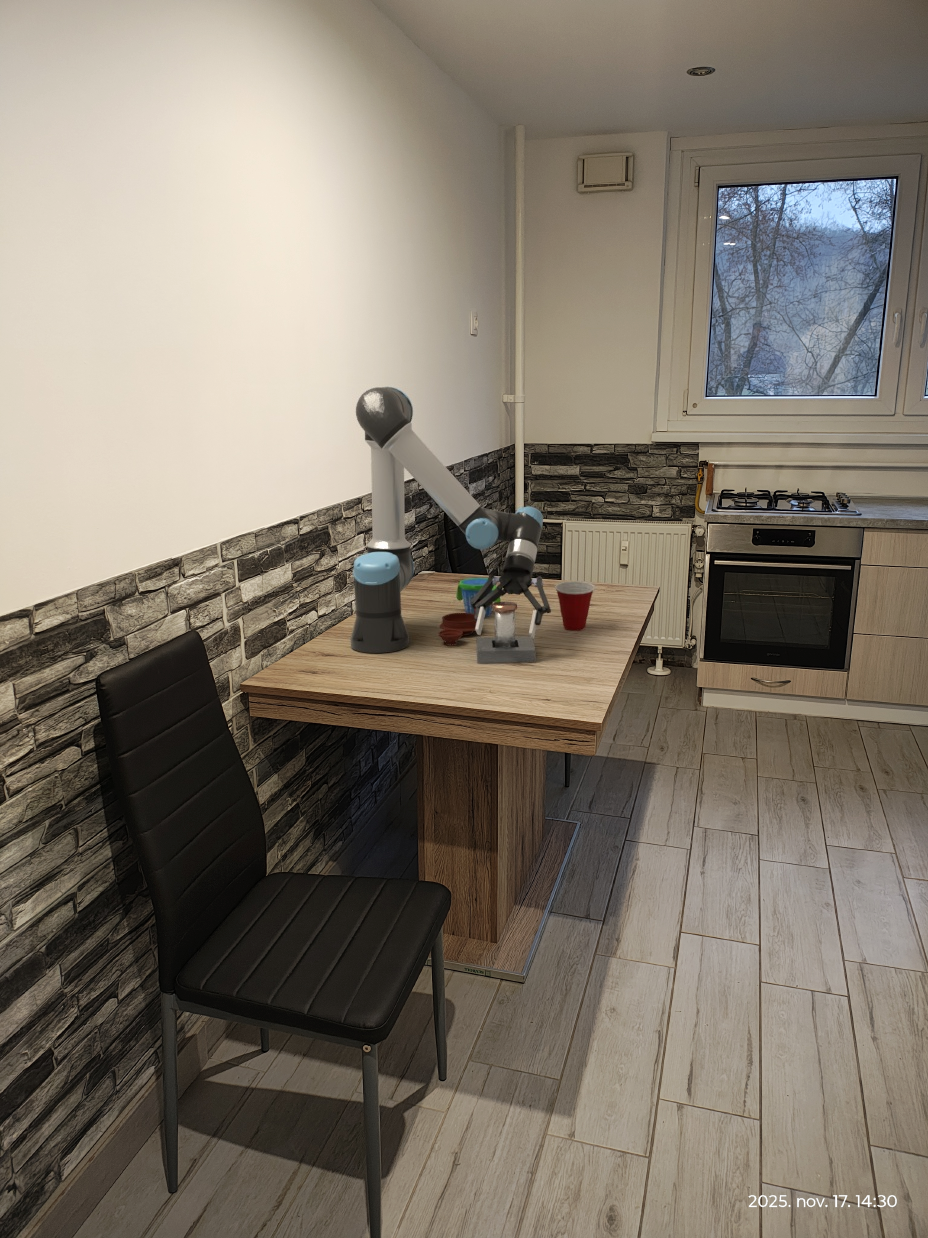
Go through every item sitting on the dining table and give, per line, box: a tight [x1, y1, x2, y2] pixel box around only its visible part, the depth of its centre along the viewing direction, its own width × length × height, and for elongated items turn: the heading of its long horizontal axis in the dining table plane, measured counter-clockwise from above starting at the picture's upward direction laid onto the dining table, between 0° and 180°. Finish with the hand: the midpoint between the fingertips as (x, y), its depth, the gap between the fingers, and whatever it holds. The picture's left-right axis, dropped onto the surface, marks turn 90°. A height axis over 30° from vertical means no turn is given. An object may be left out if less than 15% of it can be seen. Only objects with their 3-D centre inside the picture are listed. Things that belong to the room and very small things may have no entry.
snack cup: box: [456, 577, 502, 618], centre depth 258 cm, size 16×10×10 cm
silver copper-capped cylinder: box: [492, 601, 518, 648], centre depth 219 cm, size 6×6×13 cm
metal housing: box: [475, 636, 536, 664], centre depth 220 cm, size 14×12×3 cm
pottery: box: [437, 612, 483, 646], centre depth 237 cm, size 12×20×4 cm, turn 166°
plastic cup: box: [554, 580, 596, 631], centre depth 242 cm, size 11×11×12 cm
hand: (504, 634), depth 217 cm, fingers open, 13 cm apart
